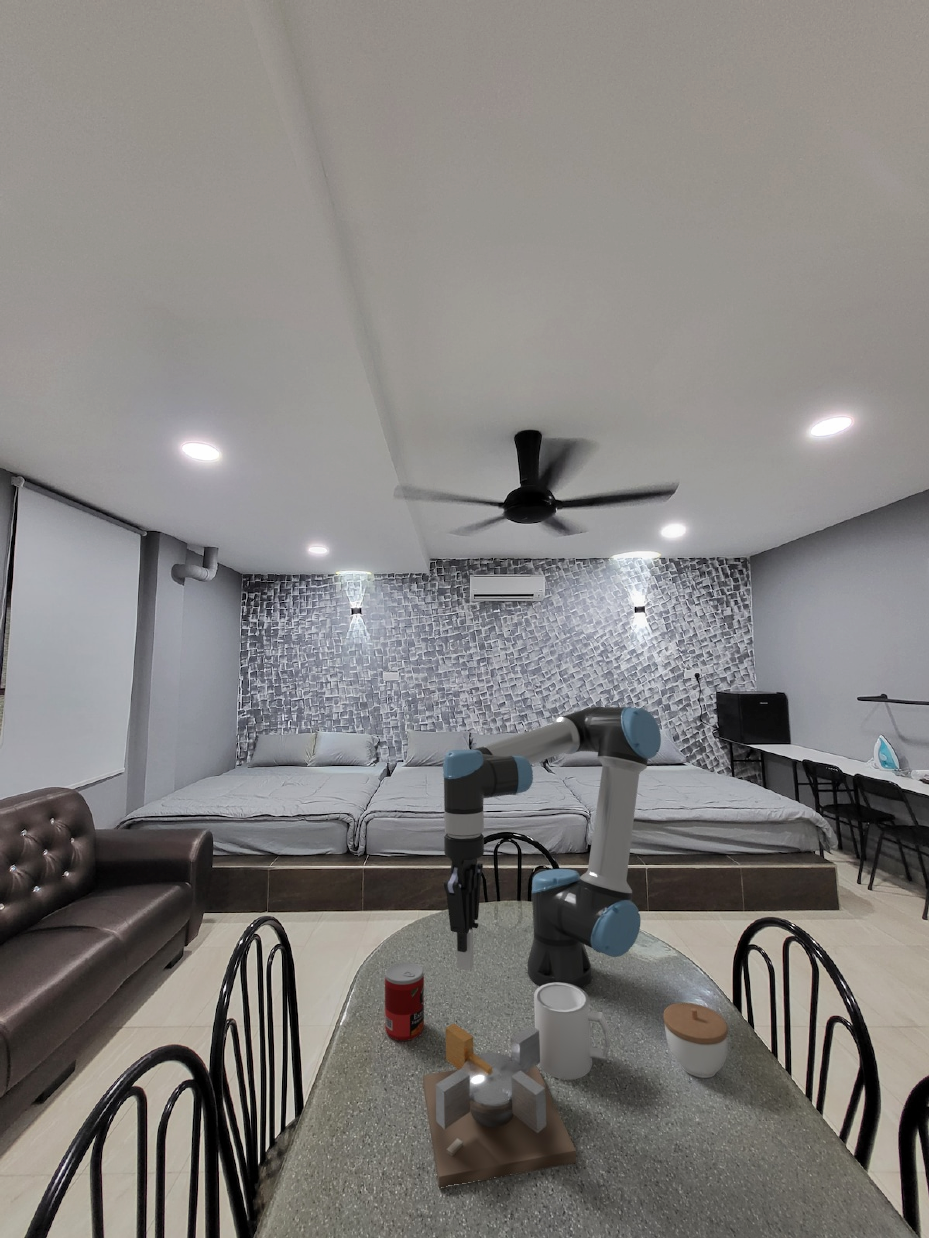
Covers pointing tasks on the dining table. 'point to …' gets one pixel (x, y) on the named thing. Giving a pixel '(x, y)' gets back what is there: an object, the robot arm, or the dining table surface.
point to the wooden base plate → (494, 1140)
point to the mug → (567, 1030)
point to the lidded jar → (696, 1038)
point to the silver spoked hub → (491, 1080)
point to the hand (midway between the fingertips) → (465, 967)
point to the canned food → (404, 1001)
